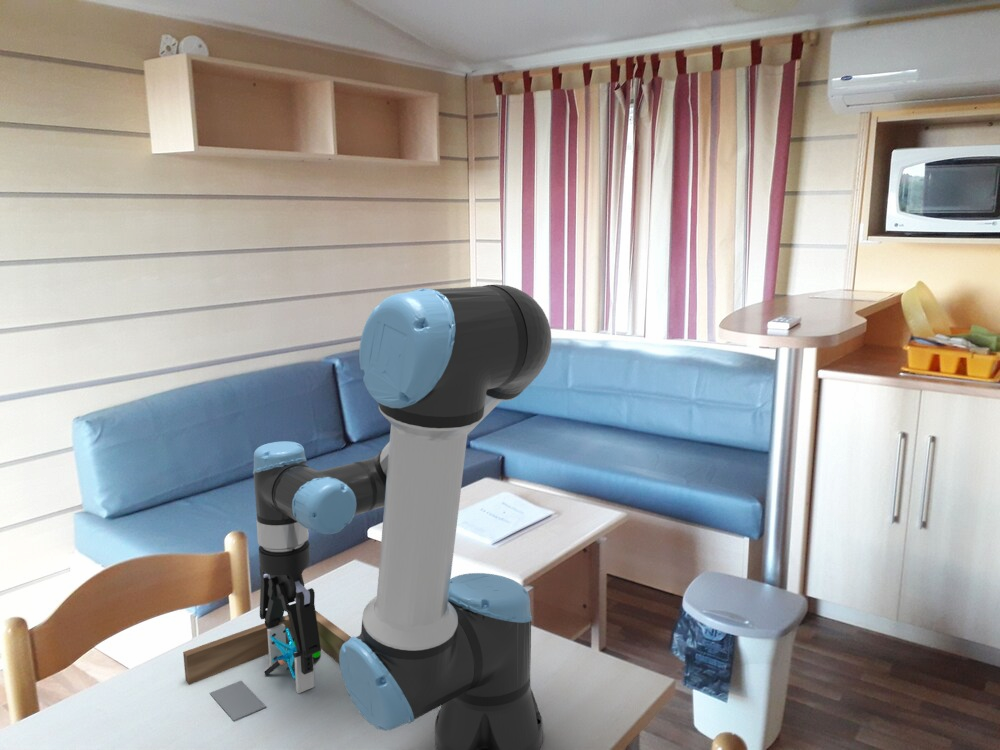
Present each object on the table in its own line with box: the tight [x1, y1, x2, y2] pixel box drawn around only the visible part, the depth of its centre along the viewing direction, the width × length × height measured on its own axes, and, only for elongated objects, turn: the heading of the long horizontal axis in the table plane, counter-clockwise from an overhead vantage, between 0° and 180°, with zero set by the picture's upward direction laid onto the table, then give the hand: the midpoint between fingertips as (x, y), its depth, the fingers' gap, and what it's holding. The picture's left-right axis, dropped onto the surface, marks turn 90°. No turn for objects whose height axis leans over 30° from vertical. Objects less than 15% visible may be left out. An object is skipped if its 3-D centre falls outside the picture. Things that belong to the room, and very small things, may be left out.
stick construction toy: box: [263, 628, 321, 680], centre depth 126 cm, size 12×7×8 cm
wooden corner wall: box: [182, 609, 352, 686], centre depth 124 cm, size 16×22×5 cm
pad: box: [209, 680, 267, 722], centre depth 118 cm, size 9×5×1 cm, turn 41°
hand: (291, 675), depth 124 cm, fingers open, 8 cm apart
